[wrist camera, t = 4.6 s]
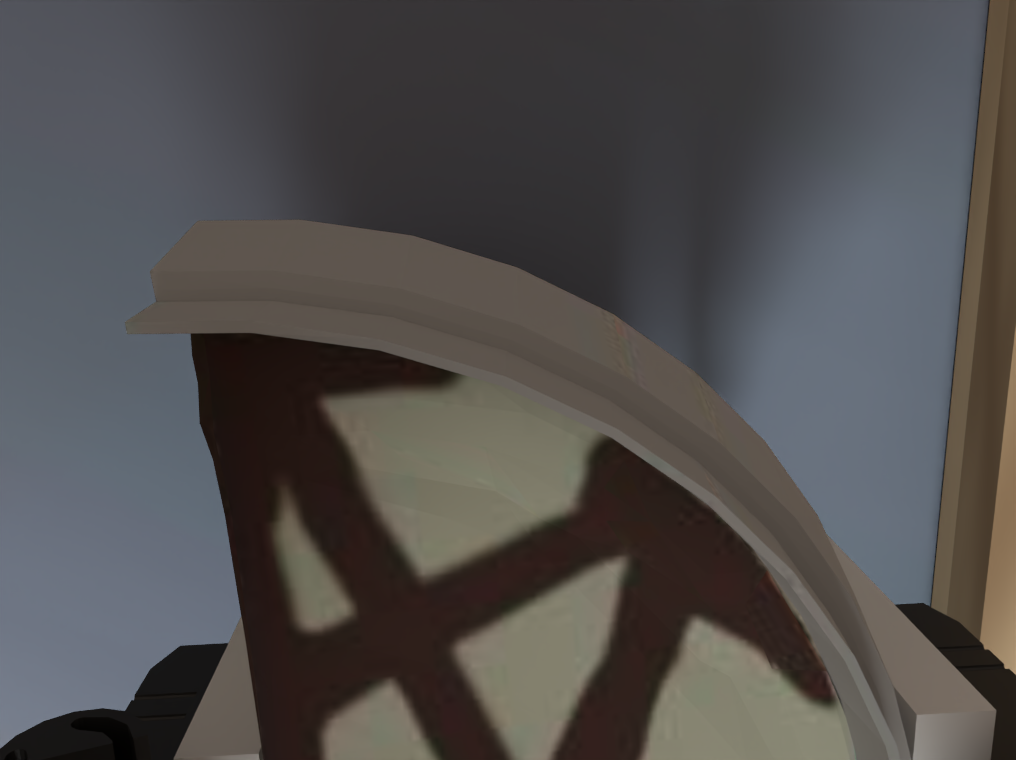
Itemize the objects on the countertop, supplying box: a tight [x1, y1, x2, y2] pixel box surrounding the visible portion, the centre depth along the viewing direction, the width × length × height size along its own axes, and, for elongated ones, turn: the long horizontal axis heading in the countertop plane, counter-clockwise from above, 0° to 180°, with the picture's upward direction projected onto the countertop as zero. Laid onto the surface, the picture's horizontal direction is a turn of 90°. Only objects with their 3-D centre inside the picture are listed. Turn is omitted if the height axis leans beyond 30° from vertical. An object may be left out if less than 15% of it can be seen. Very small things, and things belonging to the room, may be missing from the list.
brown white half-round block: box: [125, 220, 912, 760], centre depth 12 cm, size 12×6×10 cm, turn 5°
